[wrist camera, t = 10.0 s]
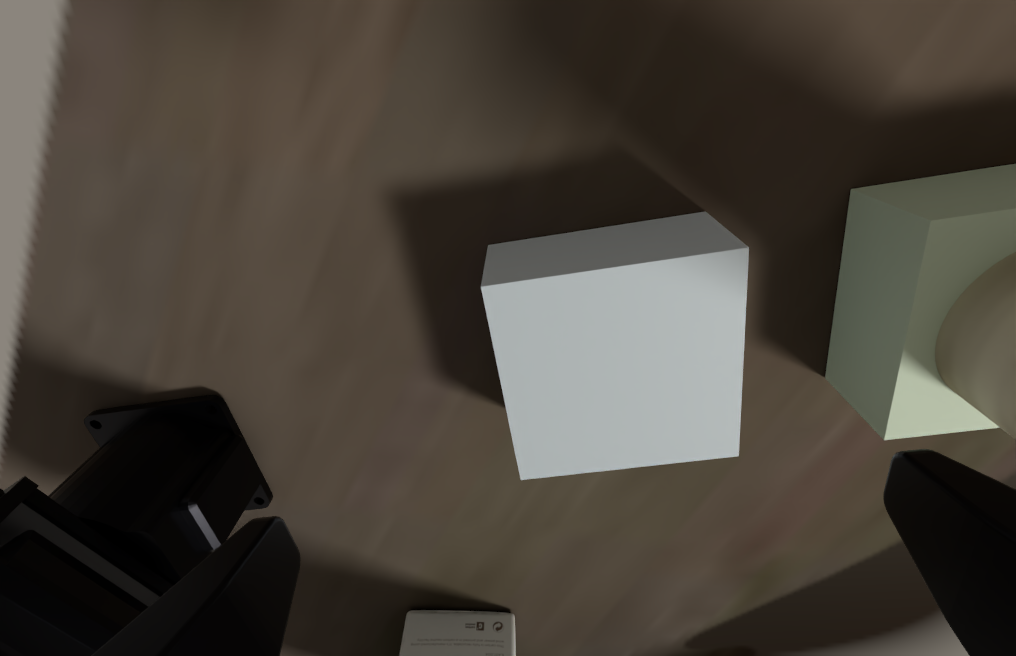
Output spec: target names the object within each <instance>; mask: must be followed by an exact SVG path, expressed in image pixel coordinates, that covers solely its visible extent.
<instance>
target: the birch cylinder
mask: <svg viewBox="0 0 1016 656" xmlns="http://www.w3.org/2000/svg"><path fill="white" fill-rule="evenodd" d="M935 361H936V366H937V370H938V372H939V374H940V376H941V378H942V380H943V381H944V383H945V384H946V385H947V386H948V387H949V388H950V389H951V390H952V391H953V392H955V393H956V394H957V395H959V396H960V397H961V398H962V399H964V400H965V401H966V402H968V403H969V404H970V405H972V406H973V407H974V408H975V409H977V410H978V411H979V412H981V413H982V414H983V415H985V416H986V417H987V418H988V419H990V420H991V421H992V422H994V423H995V424H996V425H998V426H999V427H1000V428H1001V429H1003V430H1004V431H1005V432H1007V433H1008V434H1009V435H1011V436H1012V437H1013V438H1014V439H1016V252H1014V253H1012V254H1011V255H1009V256H1007V257H1005V258H1004V259H1002V260H1001V261H999V262H998V263H996V264H994V265H993V266H992V267H990V268H989V269H988V270H986V271H985V272H984V273H983V274H981V275H980V276H979V277H978V278H977V279H976V280H975V281H974V282H972V283H971V284H970V285H969V286H968V287H967V289H966V290H965V291H964V292H963V293H962V294H961V295H960V296H959V298H958V299H957V300H956V302H955V303H954V304H953V306H952V307H951V308H950V310H949V312H948V314H947V315H946V317H945V319H944V321H943V323H942V325H941V328H940V330H939V333H938V337H937V341H936V348H935Z"/></svg>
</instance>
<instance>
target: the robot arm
mask: <svg viewBox="0 0 1016 656" xmlns="http://www.w3.org/2000/svg"><path fill="white" fill-rule="evenodd" d="M210 405H212V406H214V407H215V408H216V409H214V408H212V407H211V406H210ZM84 423H85V426H86V427H87V429H88V430H89V432H90V433H91V435H92V436H93V438H94V439H95V441H96V442H97V443H98V445H99V446H100V448H99V449H98V450H97V451H96V452H95V453H94V454H93V455H92V456H91V457H90V458H89V459H88V460H86V461H85V462H84V463H83V464H82V465H81V466H80V467H79V468H78V469H77V470H76V471H75V472H74V473H72V474H71V475H70V476H69V477H68V478H67V479H66V480H65V481H64V482H63V483H62V484H61V485H60V486H58V487H57V488H56V489H55V490H54V491H53V492H52V493H51V494H50V495H49V496H47V495H46V494H44V493H43V492H41V491H40V490H38V489H37V487H38V485H37V484H35V483H34V482H33V481H31V480H30V479H28V478H27V477H26V476H24V477H23V478H21V479H20V480H18V481H17V482H15V483H14V484H12V485H11V486H10V487H8V488H7V489H5V490H4V491H3V490H2V489H0V656H280V652H281V648H282V643H283V639H284V634H285V630H286V626H287V621H288V617H289V612H290V608H291V604H292V599H293V595H294V591H295V586H296V582H297V577H298V573H299V569H300V553H299V550H298V547H297V546H296V544H295V542H294V540H293V538H292V536H291V534H290V532H289V530H288V528H287V526H286V524H285V522H284V521H283V519H281V518H280V517H277V516H272V517H262V518H256V519H253V520H251V521H249V522H248V523H247V524H245V525H244V526H243V527H242V528H241V529H240V530H238V531H237V532H236V533H235V534H234V535H233V536H231V537H230V538H229V539H228V540H227V541H226V539H227V538H228V536H229V535H230V533H231V531H232V530H233V528H234V526H235V525H236V523H237V521H238V520H239V518H240V517H241V515H242V513H243V512H244V510H253V509H262V508H266V507H268V506H269V504H270V502H271V500H272V498H273V495H272V492H271V490H270V488H269V486H268V484H267V482H266V480H265V478H264V476H263V475H262V473H261V471H260V469H259V467H258V465H257V463H256V461H255V459H254V457H253V455H252V453H251V451H250V449H249V447H248V445H247V443H246V441H245V439H244V437H243V435H242V433H241V431H240V429H239V427H238V425H237V423H236V422H235V420H234V418H233V416H232V414H231V412H230V410H229V408H228V406H227V404H226V402H225V401H224V400H223V399H222V398H221V397H219V396H216V395H208V396H200V397H193V398H185V399H177V400H170V401H162V402H155V403H147V404H140V405H132V406H125V407H117V408H110V409H102V410H96V411H93V412H92V413H91V414H89V415H88V416H87V417H86V418H85V419H84ZM884 504H885V507H886V510H887V512H888V514H889V516H890V518H891V520H892V522H893V524H894V525H895V527H896V529H897V531H898V533H899V535H900V537H901V538H902V540H903V542H904V544H905V546H906V547H907V549H908V551H909V553H910V555H911V557H912V559H913V560H914V562H915V564H916V566H917V568H918V570H919V572H920V573H921V575H922V577H923V579H924V581H925V583H926V585H927V586H928V588H929V590H930V592H931V594H932V595H933V597H934V599H935V601H936V603H937V605H938V606H939V608H940V609H941V612H942V613H943V615H944V617H945V618H946V620H947V622H948V623H949V625H950V627H951V628H952V630H953V631H954V633H955V634H956V636H957V637H958V639H959V640H960V642H961V644H962V645H963V647H964V648H965V650H966V651H967V652H968V654H969V655H970V656H1016V489H1014V488H1012V487H1010V486H1008V485H1005V484H1003V483H1001V482H999V481H997V480H995V479H993V478H991V477H989V476H986V475H984V474H982V473H980V472H978V471H976V470H974V469H972V468H969V467H967V466H965V465H963V464H961V463H959V462H957V461H955V460H953V459H950V458H948V457H946V456H944V455H942V454H940V453H938V452H935V451H933V450H929V449H919V450H909V451H900V452H897V453H896V454H895V455H894V456H893V457H892V460H891V464H890V468H889V472H888V477H887V481H886V485H885V489H884ZM212 552H213V553H212Z"/></svg>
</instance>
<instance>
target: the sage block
mask: <svg viewBox="0 0 1016 656" xmlns="http://www.w3.org/2000/svg"><path fill="white" fill-rule="evenodd" d="M1014 252H1016V164H1010V165H1003V166H997V167H990V168H984V169H977V170H971V171H964V172H958V173H951V174H945V175H938V176H932V177H926V178H919V179H913V180H906V181H900V182H893V183H887V184H880V185H874V186H867V187H861V188H854V189H851V191H850V199H849V206H848V213H847V221H846V228H845V235H844V243H843V250H842V257H841V265H840V272H839V279H838V287H837V294H836V301H835V308H834V316H833V323H832V330H831V338H830V345H829V352H828V360H827V367H826V374H825V379H826V380H827V381H828V382H829V383H830V384H831V385H832V386H833V387H834V388H835V389H836V390H837V391H838V392H839V393H840V394H841V395H842V396H843V398H844V399H845V400H846V401H847V402H848V403H849V404H850V405H851V406H852V407H853V408H854V409H855V410H856V411H857V412H858V413H859V414H860V415H861V416H862V417H863V419H864V420H865V421H866V422H867V423H868V424H869V425H870V426H871V427H872V428H873V429H874V430H875V431H876V432H877V433H878V434H879V435H880V436H881V437H882V438H883V440H890V439H899V438H908V437H917V436H926V435H935V434H945V433H954V432H963V431H972V430H981V429H990V428H999V426H998V425H996V424H995V423H994V422H992V421H991V420H990V419H988V418H987V417H986V416H985V415H983V414H982V413H981V412H979V411H978V410H977V409H975V408H974V407H973V406H972V405H970V404H969V403H968V402H966V401H965V400H964V399H962V398H961V397H960V396H959V395H957V394H956V393H955V392H953V391H952V390H951V389H950V388H949V387H948V386H947V385H946V384H945V383H944V381H943V380H942V378H941V376H940V374H939V372H938V370H937V366H936V361H935V348H936V341H937V337H938V333H939V330H940V328H941V325H942V323H943V321H944V319H945V317H946V315H947V314H948V312H949V310H950V308H951V307H952V306H953V304H954V303H955V302H956V300H957V299H958V298H959V296H960V295H961V294H962V293H963V292H964V291H965V290H966V289H967V287H968V286H969V285H970V284H971V283H972V282H974V281H975V280H976V279H977V278H978V277H979V276H980V275H981V274H983V273H984V272H985V271H986V270H988V269H989V268H990V267H992V266H993V265H994V264H996V263H998V262H999V261H1001V260H1002V259H1004V258H1005V257H1007V256H1009V255H1011V254H1012V253H1014Z"/></svg>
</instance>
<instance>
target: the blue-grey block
mask: <svg viewBox="0 0 1016 656" xmlns="http://www.w3.org/2000/svg"><path fill="white" fill-rule="evenodd" d="M748 258H749V247H748V246H747V245H745V244H744V243H743V242H742V241H741V240H739V239H738V238H737V237H736V236H735V235H733V234H732V233H731V232H730V231H729V230H727V229H726V228H725V227H724V226H723V225H721V224H720V223H719V222H718V221H717V220H715V219H714V218H713V217H712V216H710V215H709V214H708V213H707V212H706V211H705V212H699V213H692V214H686V215H679V216H673V217H666V218H660V219H653V220H647V221H641V222H634V223H628V224H621V225H615V226H608V227H602V228H595V229H589V230H582V231H576V232H569V233H563V234H556V235H550V236H543V237H537V238H530V239H524V240H517V241H511V242H504V243H498V244H492V245H488V248H487V254H486V260H485V265H484V271H483V277H482V283H481V290H482V295H483V300H484V305H485V310H486V314H487V319H488V324H489V329H490V334H491V339H492V343H493V348H494V353H495V358H496V363H497V368H498V372H499V377H500V382H501V387H502V392H503V397H504V401H505V406H506V411H507V416H508V421H509V426H510V430H511V435H512V440H513V445H514V450H515V455H516V459H517V464H518V469H519V474H520V479H521V480H526V479H535V478H544V477H553V476H562V475H571V474H580V473H589V472H598V471H608V470H617V469H626V468H635V467H644V466H653V465H662V464H671V463H680V462H690V461H699V460H708V459H717V458H726V457H735V456H739V440H740V419H741V399H742V379H743V359H744V339H745V319H746V299H747V278H748Z"/></svg>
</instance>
